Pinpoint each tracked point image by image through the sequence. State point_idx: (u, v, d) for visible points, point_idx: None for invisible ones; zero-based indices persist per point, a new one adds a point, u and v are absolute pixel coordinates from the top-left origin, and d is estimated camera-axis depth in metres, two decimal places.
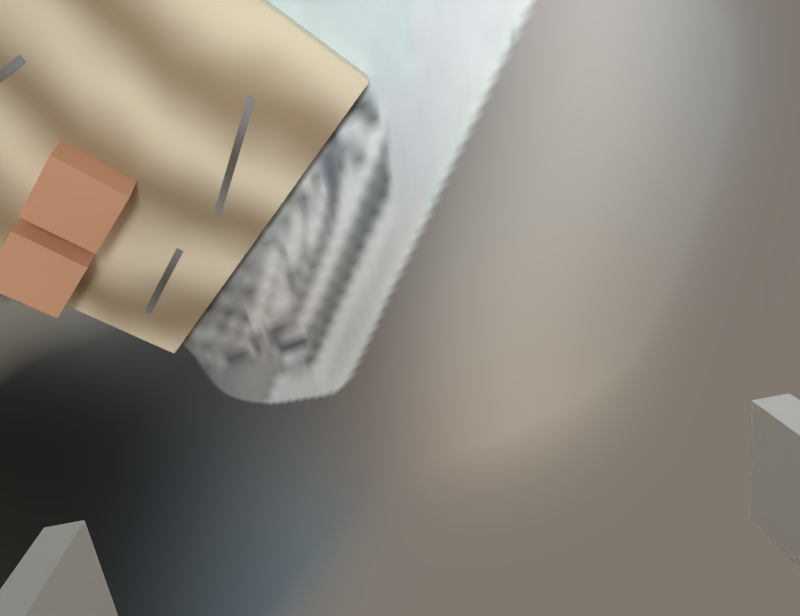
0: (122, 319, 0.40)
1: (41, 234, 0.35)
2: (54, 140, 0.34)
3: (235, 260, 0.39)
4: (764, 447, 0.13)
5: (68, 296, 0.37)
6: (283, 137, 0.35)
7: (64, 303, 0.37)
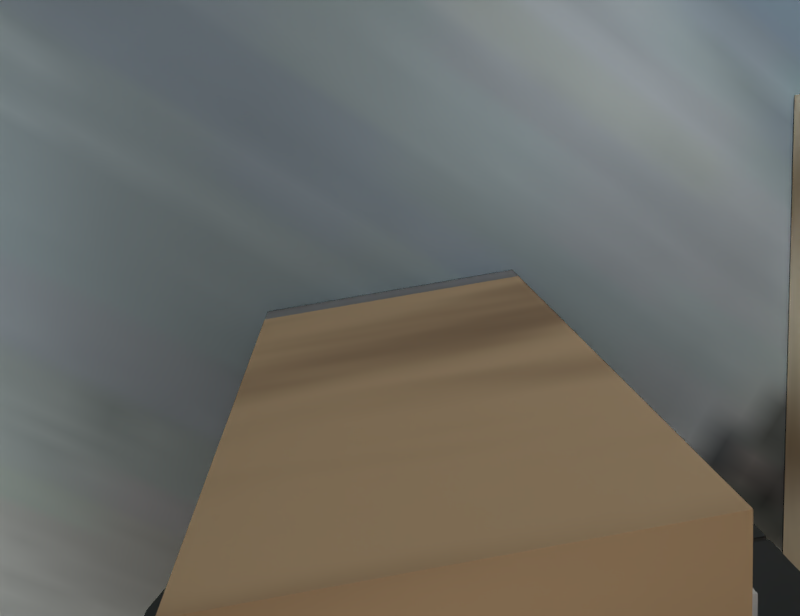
0: None
1: None
2: None
3: None
4: None
5: None
6: None
7: None
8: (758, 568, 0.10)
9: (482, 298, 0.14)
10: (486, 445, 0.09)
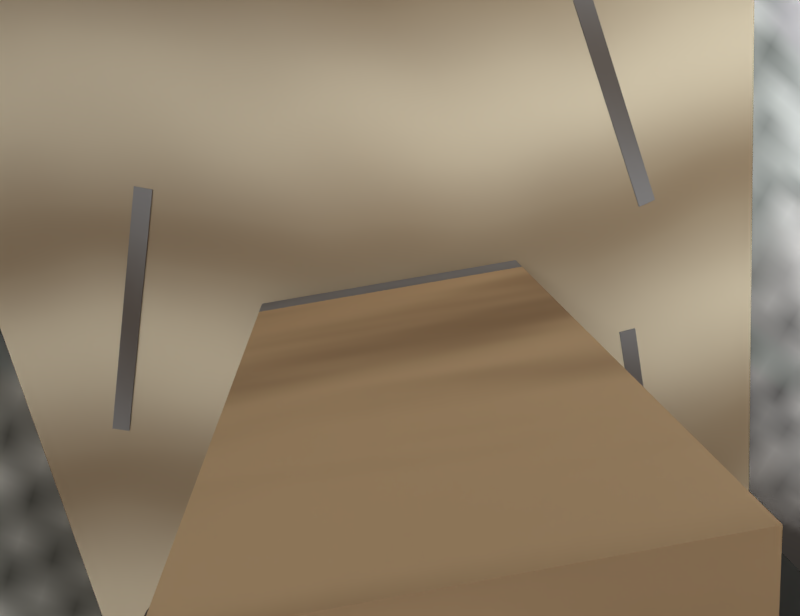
0: None
1: None
2: (291, 298, 0.16)
3: (740, 268, 0.16)
4: None
5: None
6: None
7: None
8: None
9: (485, 290, 0.14)
10: (491, 450, 0.08)
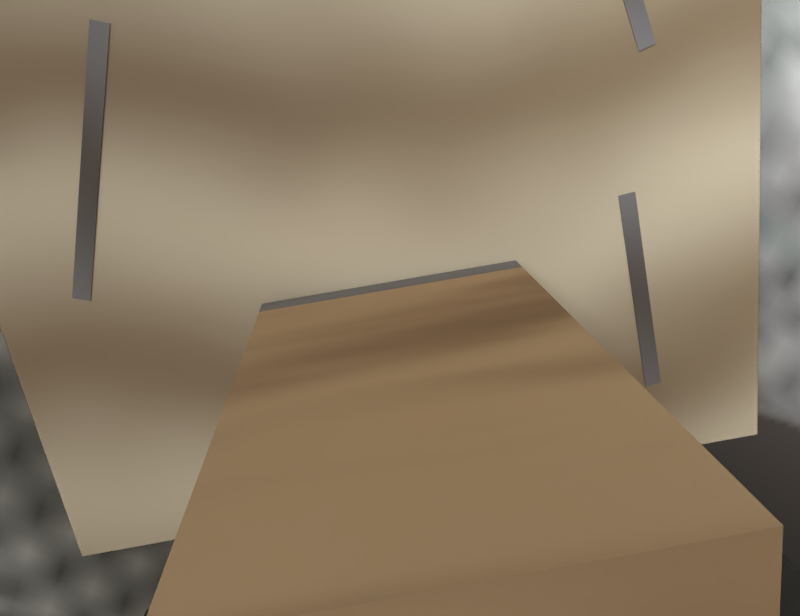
0: None
1: None
2: (262, 151, 0.15)
3: (748, 124, 0.15)
4: None
5: None
6: None
7: None
8: None
9: (485, 290, 0.14)
10: (492, 450, 0.08)
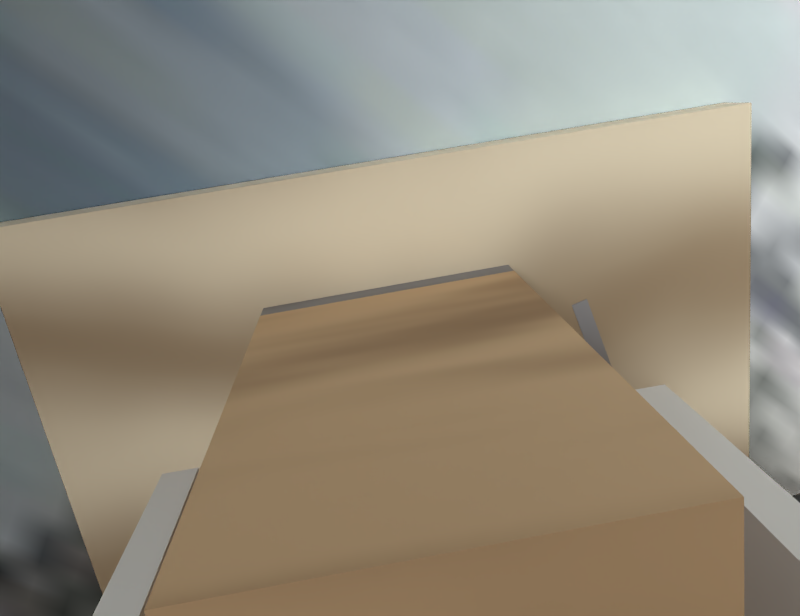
0: None
1: None
2: None
3: None
4: None
5: None
6: (674, 318, 0.17)
7: None
8: None
9: (477, 293, 0.14)
10: (478, 436, 0.09)
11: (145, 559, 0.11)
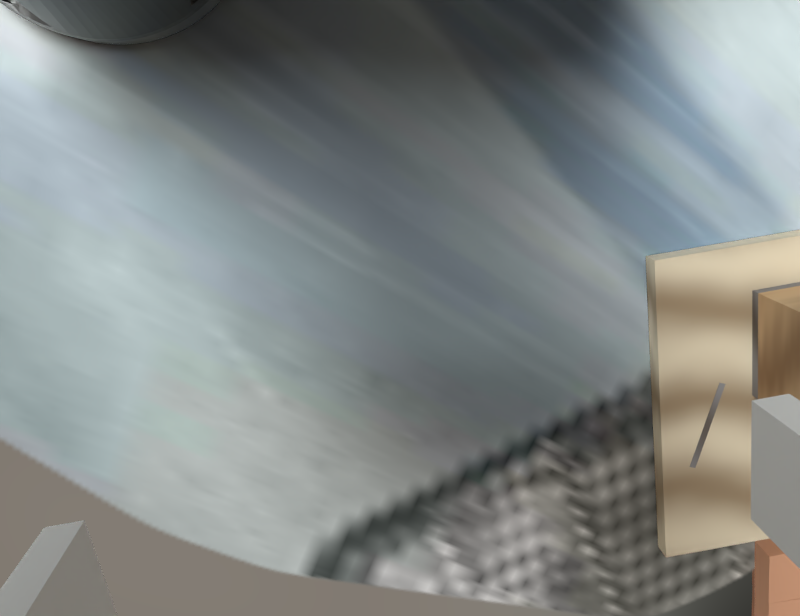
0: None
1: None
2: None
3: None
4: (764, 447, 0.13)
5: None
6: None
7: None
8: None
9: None
10: None
11: None
